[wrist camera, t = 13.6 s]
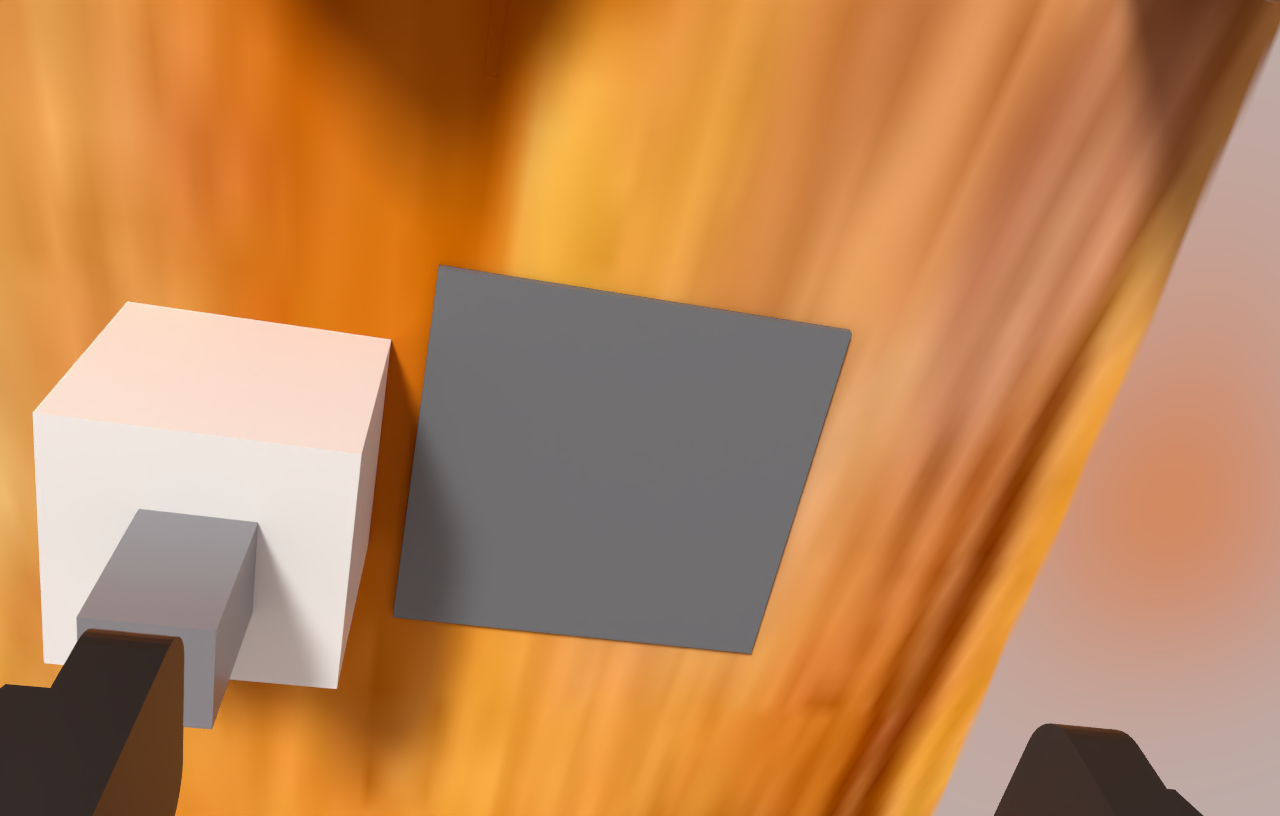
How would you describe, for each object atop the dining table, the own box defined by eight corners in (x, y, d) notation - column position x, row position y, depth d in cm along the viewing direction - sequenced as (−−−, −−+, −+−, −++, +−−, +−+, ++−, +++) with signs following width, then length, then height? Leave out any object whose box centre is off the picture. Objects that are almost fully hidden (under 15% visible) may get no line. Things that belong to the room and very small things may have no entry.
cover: (391, 339, 46) (335, 554, 33) (368, 545, 51) (310, 810, 37) (127, 301, 45) (-52, 511, 31) (128, 518, 49) (-28, 786, 35)
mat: (849, 329, 48) (852, 333, 48) (749, 648, 56) (750, 653, 56) (439, 264, 45) (438, 268, 45) (393, 612, 53) (393, 617, 53)
